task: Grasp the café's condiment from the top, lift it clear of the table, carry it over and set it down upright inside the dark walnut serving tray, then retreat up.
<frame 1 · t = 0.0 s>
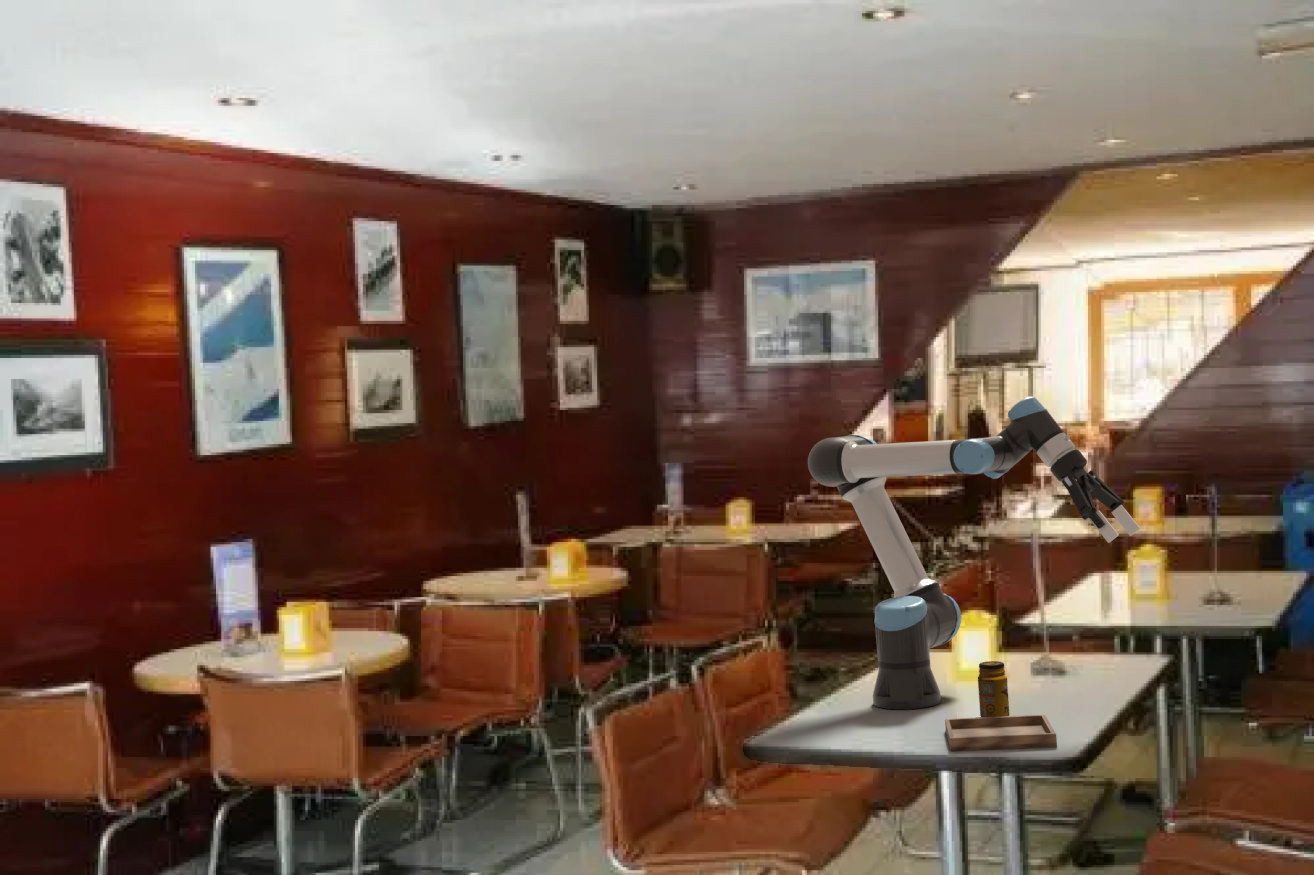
hand: (1124, 535, 319), 36 cm above the table, tool tilted 35°, fingers open, 13 cm apart
walnut tray: (999, 738, 295), on the table
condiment: (991, 721, 313), on the table
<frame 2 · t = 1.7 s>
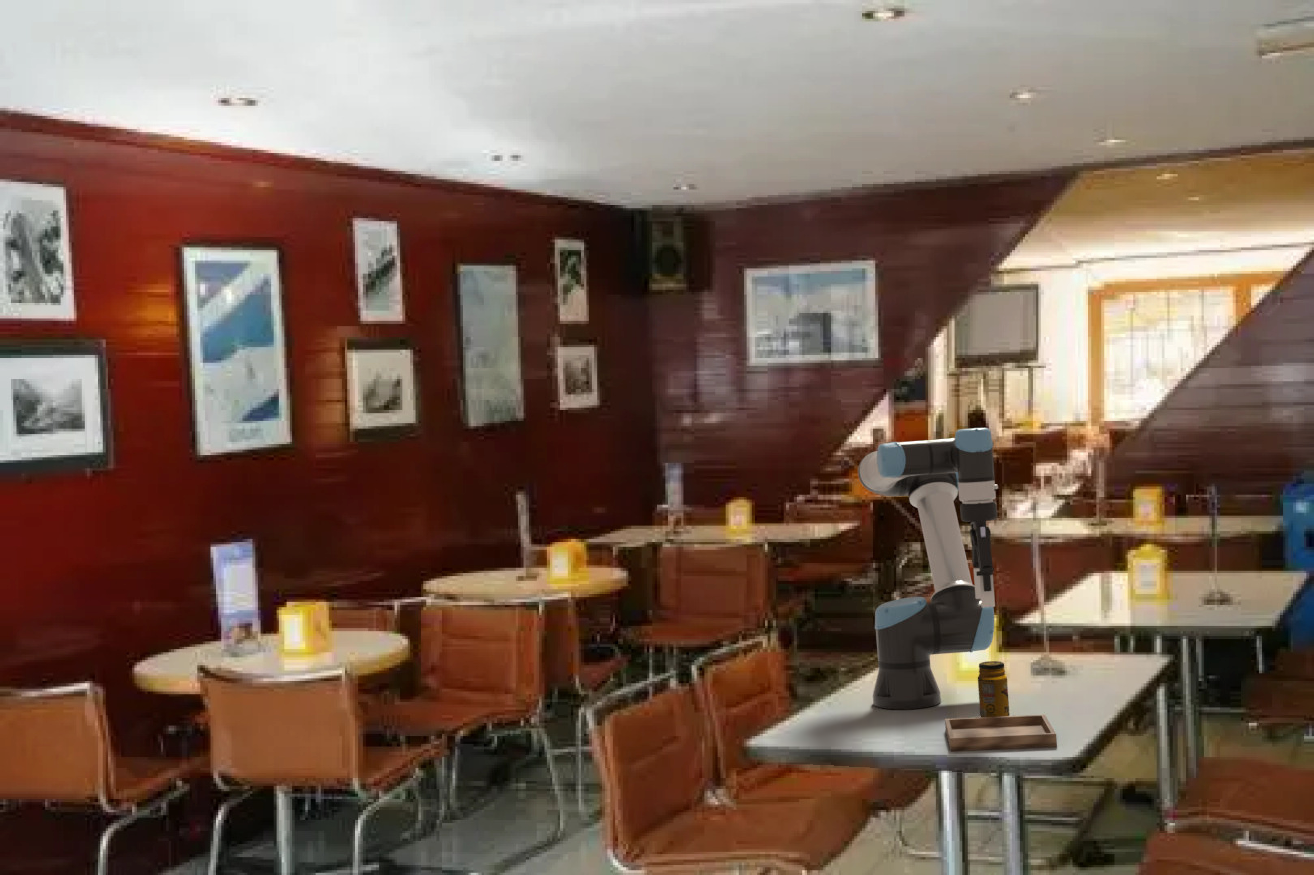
hand: (985, 602, 313), 25 cm above the table, tool pointing down, fingers open, 13 cm apart
nothing on the table moved.
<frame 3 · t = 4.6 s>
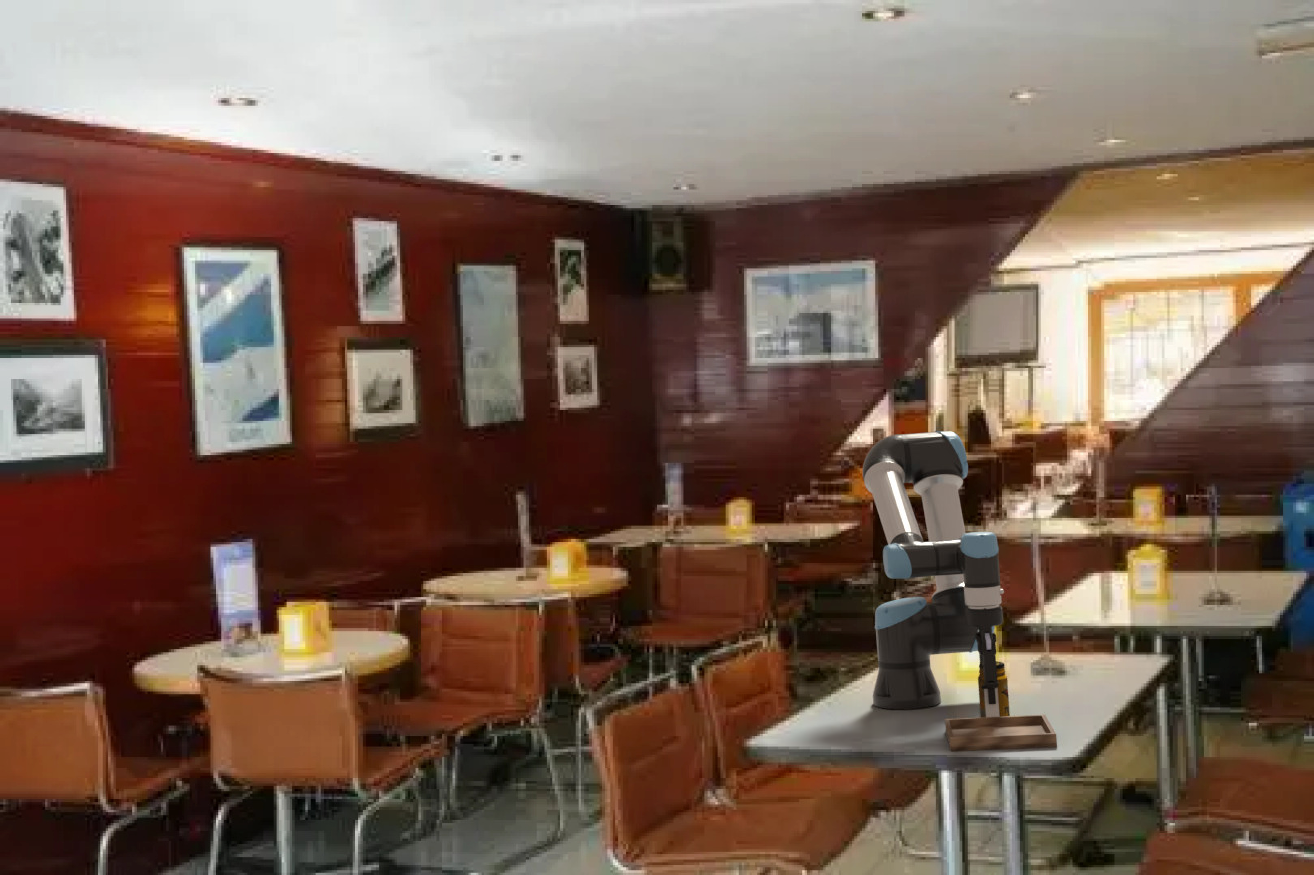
hand: (991, 715, 313), 1 cm above the table, tool pointing down, fingers closed on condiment, 6 cm apart
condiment: (992, 721, 312), on the table, touching gripper
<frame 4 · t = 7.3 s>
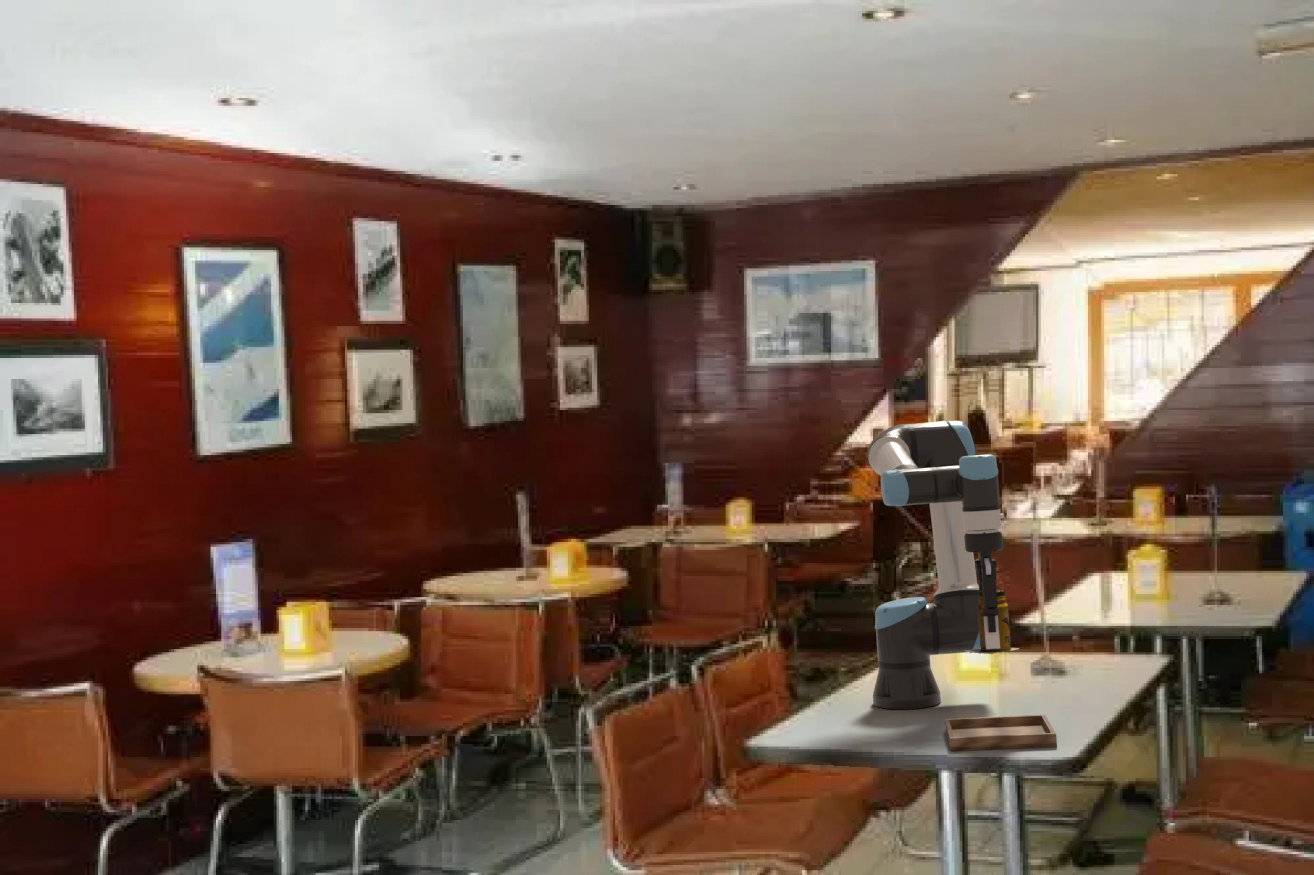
hand: (991, 646, 299), 18 cm above the table, tool pointing down, fingers closed on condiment, 6 cm apart
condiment: (992, 652, 299), point 17 cm above the table, touching gripper
when the fingers open (3 cm above the table, at t = 10.0 s): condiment drops 1 cm, resting on walnut tray.
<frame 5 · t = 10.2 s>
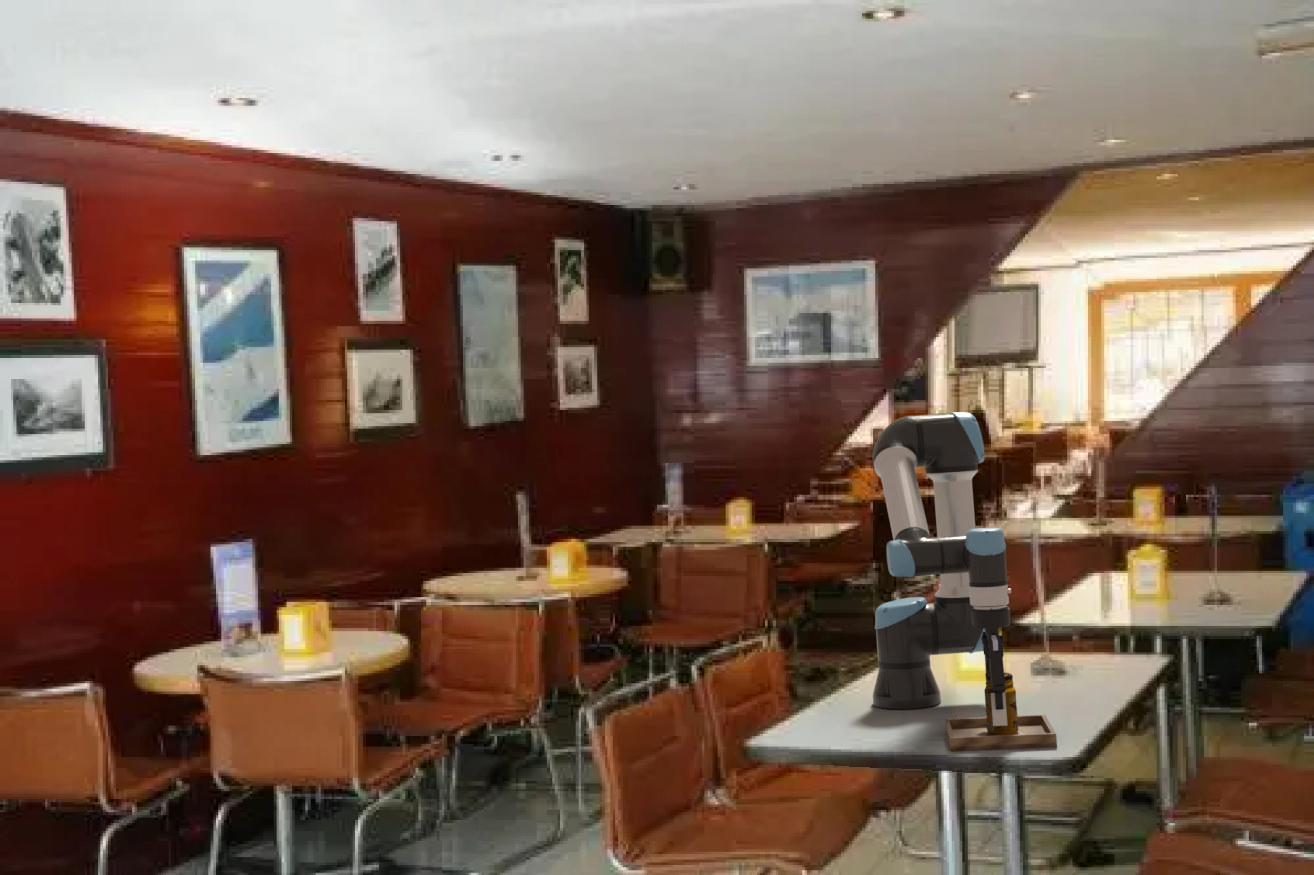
hand: (998, 720, 295), 4 cm above the table, tool pointing down, fingers open, 8 cm apart
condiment: (999, 736, 294), point 1 cm above the table, touching walnut tray
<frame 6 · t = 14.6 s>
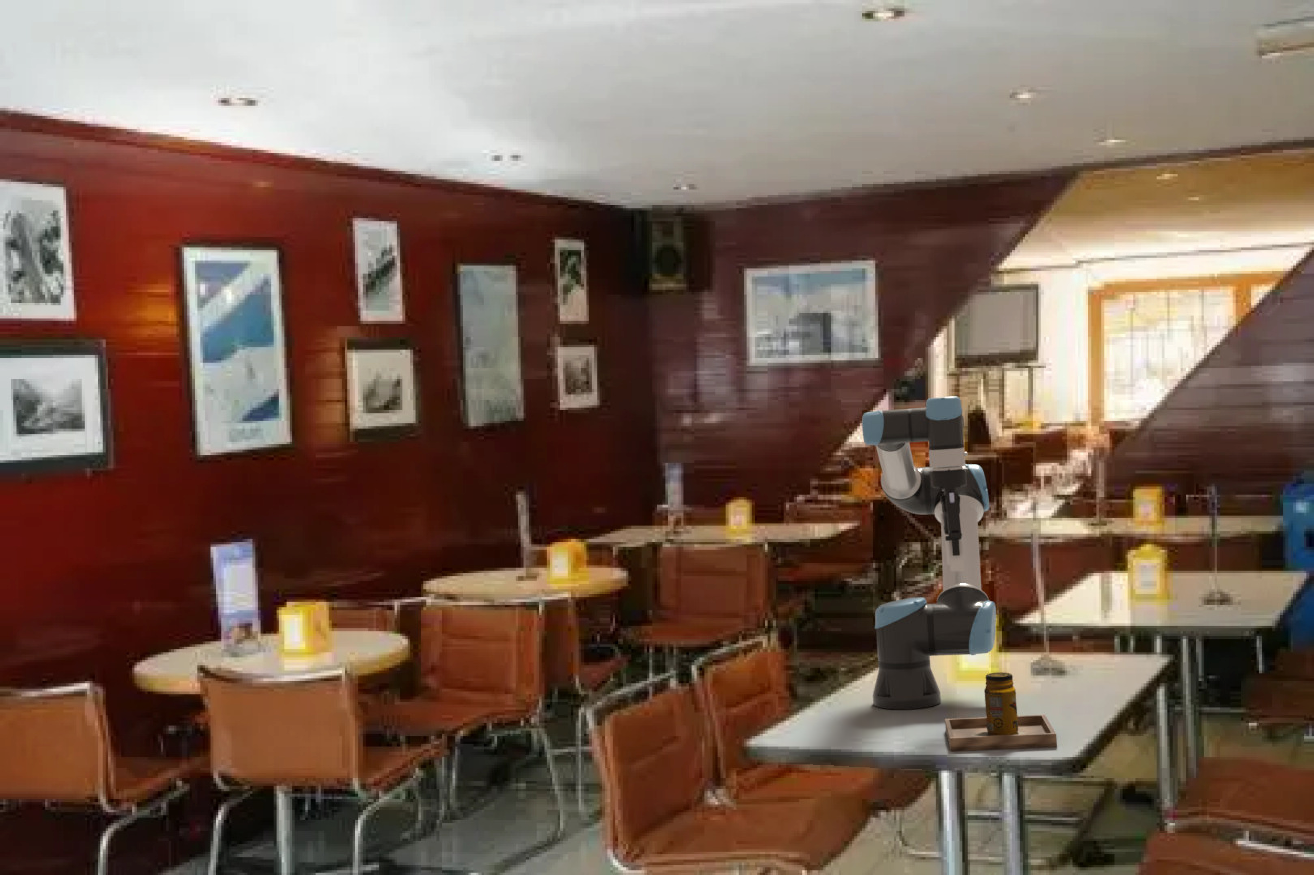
hand: (955, 567, 319), 32 cm above the table, tool pointing down, fingers open, 13 cm apart
nothing on the table moved.
at the end: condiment inside the target area on the walnut tray (0.5 cm from its centre), point 0.6 cm above the walnut tray's base; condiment tilted 0°; the gripper is holding nothing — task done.
